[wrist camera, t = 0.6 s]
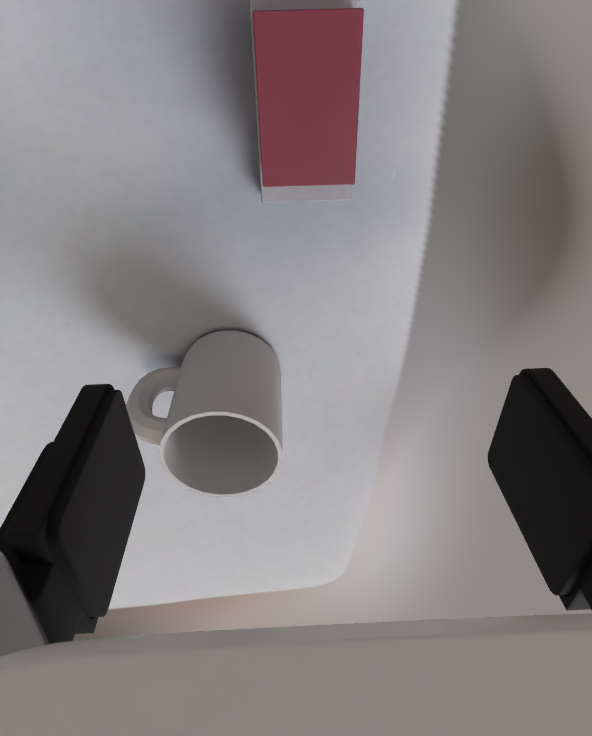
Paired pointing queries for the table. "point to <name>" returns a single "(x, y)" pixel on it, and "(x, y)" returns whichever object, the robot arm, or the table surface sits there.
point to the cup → (216, 415)
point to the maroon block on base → (306, 96)
